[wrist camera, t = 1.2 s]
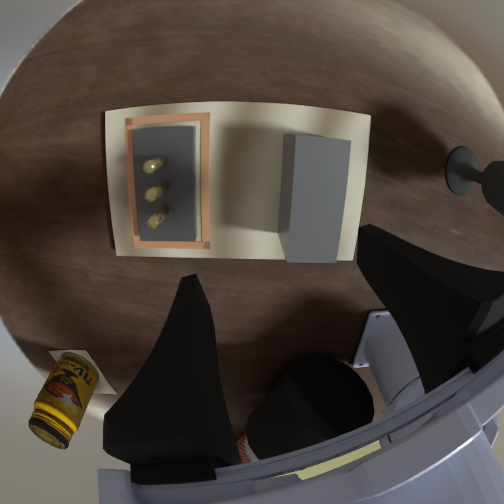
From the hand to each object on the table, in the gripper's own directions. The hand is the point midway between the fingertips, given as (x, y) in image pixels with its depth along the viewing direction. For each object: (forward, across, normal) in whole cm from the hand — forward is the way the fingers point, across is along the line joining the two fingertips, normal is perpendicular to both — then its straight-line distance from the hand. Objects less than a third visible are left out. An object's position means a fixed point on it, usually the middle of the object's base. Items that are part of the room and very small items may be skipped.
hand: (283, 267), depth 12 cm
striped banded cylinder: (+5, +5, +33) cm, 34 cm away
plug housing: (+9, -4, +1) cm, 10 cm away
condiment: (+11, +26, +19) cm, 34 cm away
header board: (+11, 0, 0) cm, 11 cm away
